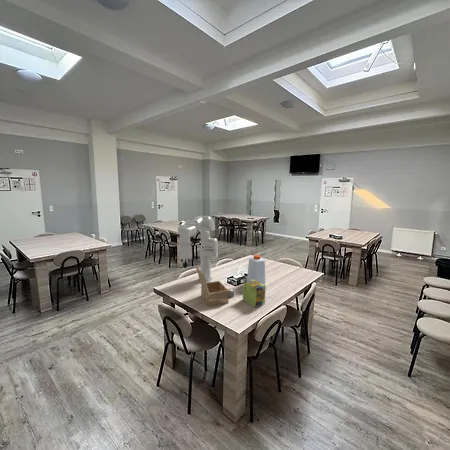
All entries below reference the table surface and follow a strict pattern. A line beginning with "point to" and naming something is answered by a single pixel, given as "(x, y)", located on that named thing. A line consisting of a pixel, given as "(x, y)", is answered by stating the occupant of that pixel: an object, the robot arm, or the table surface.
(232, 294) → the grey rounded piece
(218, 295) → the wooden box
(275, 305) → the table surface
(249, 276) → the plastic bottle
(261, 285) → the protein box
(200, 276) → the box lid
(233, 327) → the table surface
